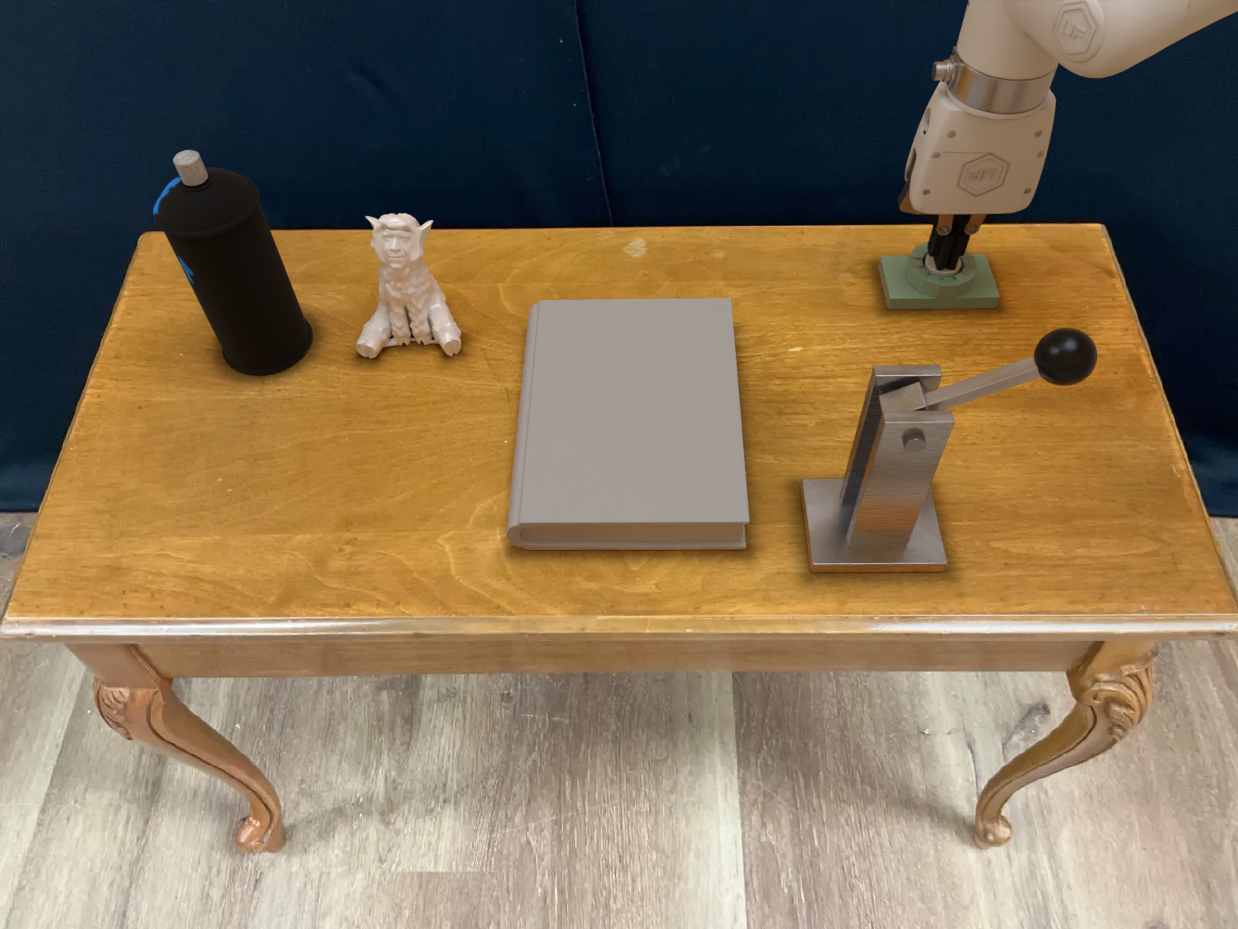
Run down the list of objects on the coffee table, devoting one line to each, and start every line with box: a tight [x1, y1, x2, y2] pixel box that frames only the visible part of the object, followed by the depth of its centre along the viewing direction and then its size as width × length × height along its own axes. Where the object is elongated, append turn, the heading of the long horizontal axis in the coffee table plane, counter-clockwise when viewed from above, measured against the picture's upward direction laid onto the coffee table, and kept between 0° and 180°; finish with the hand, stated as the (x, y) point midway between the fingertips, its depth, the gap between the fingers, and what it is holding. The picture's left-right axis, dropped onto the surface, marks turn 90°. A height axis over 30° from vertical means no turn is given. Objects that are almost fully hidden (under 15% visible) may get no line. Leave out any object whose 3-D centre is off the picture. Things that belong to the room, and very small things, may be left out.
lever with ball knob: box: [879, 327, 1098, 413], centre depth 62 cm, size 13×4×4 cm, turn 90°
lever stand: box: [799, 364, 956, 573], centre depth 69 cm, size 10×8×16 cm
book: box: [505, 297, 750, 551], centre depth 80 cm, size 18×4×24 cm
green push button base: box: [877, 241, 1001, 310], centre depth 90 cm, size 10×6×3 cm, turn 89°
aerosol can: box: [152, 149, 313, 376], centre depth 81 cm, size 8×8×20 cm
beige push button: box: [923, 255, 961, 277], centre depth 90 cm, size 3×3×2 cm
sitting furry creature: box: [354, 212, 462, 360], centre depth 85 cm, size 10×9×12 cm
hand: (942, 259), depth 89 cm, fingers closed
